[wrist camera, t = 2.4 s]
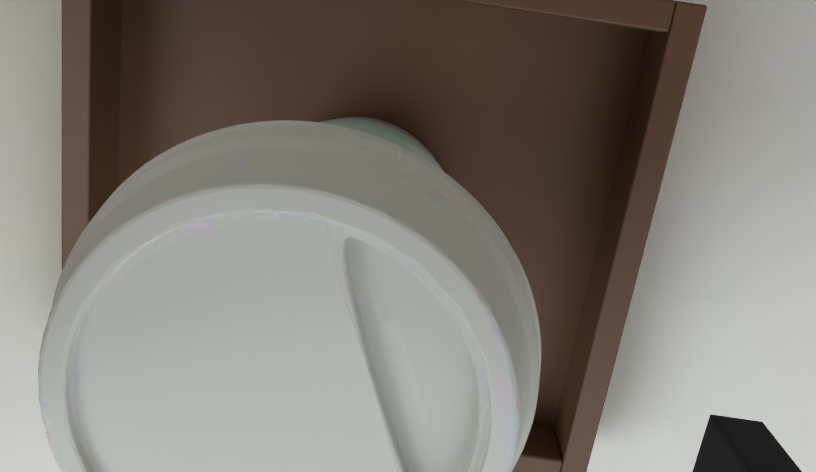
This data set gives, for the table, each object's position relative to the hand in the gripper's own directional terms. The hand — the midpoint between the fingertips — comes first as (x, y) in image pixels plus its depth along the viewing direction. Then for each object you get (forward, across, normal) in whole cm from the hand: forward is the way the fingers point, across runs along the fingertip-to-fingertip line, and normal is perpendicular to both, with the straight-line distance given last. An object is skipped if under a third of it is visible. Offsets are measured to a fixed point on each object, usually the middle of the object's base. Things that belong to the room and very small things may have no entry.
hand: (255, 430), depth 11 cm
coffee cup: (+13, 0, 0) cm, 13 cm away
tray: (+13, 0, 0) cm, 13 cm away
